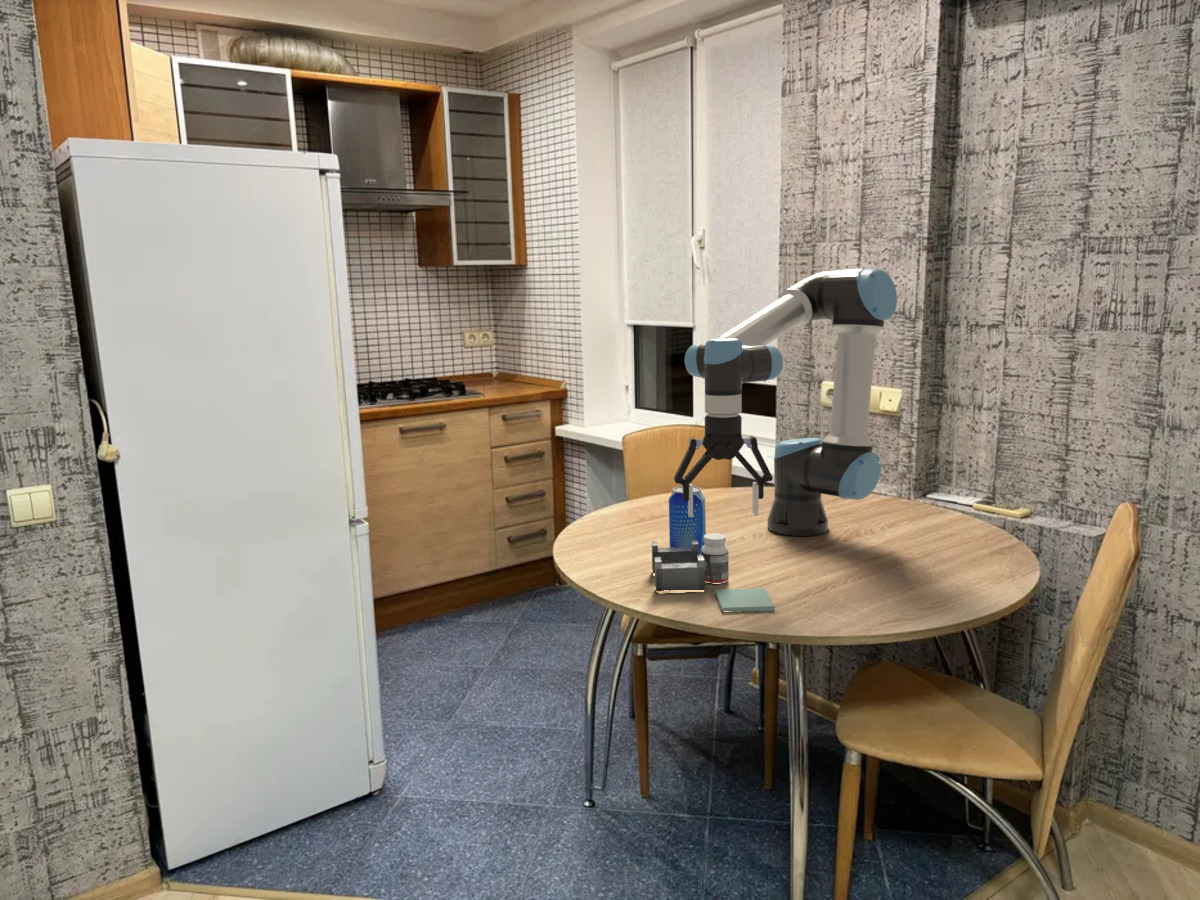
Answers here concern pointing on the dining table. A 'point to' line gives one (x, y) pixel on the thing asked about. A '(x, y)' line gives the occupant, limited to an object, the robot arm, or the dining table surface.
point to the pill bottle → (715, 558)
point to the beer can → (686, 519)
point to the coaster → (744, 599)
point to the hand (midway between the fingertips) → (722, 514)
